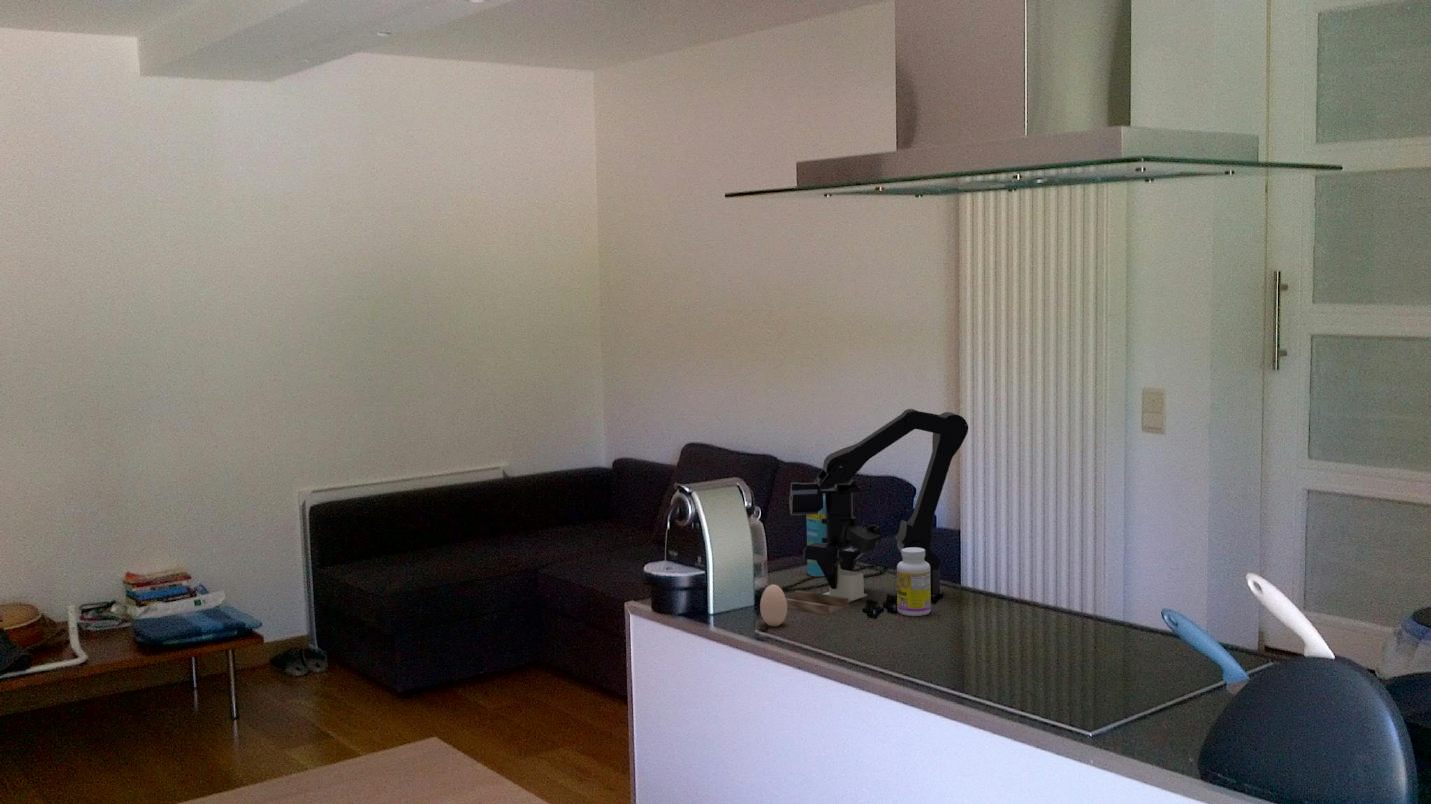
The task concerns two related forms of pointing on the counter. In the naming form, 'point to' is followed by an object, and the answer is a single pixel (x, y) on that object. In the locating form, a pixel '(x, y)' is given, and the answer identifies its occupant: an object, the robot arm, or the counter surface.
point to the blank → (848, 585)
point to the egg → (773, 605)
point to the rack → (816, 602)
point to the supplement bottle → (913, 583)
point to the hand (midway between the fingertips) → (840, 586)
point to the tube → (815, 537)
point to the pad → (849, 600)
